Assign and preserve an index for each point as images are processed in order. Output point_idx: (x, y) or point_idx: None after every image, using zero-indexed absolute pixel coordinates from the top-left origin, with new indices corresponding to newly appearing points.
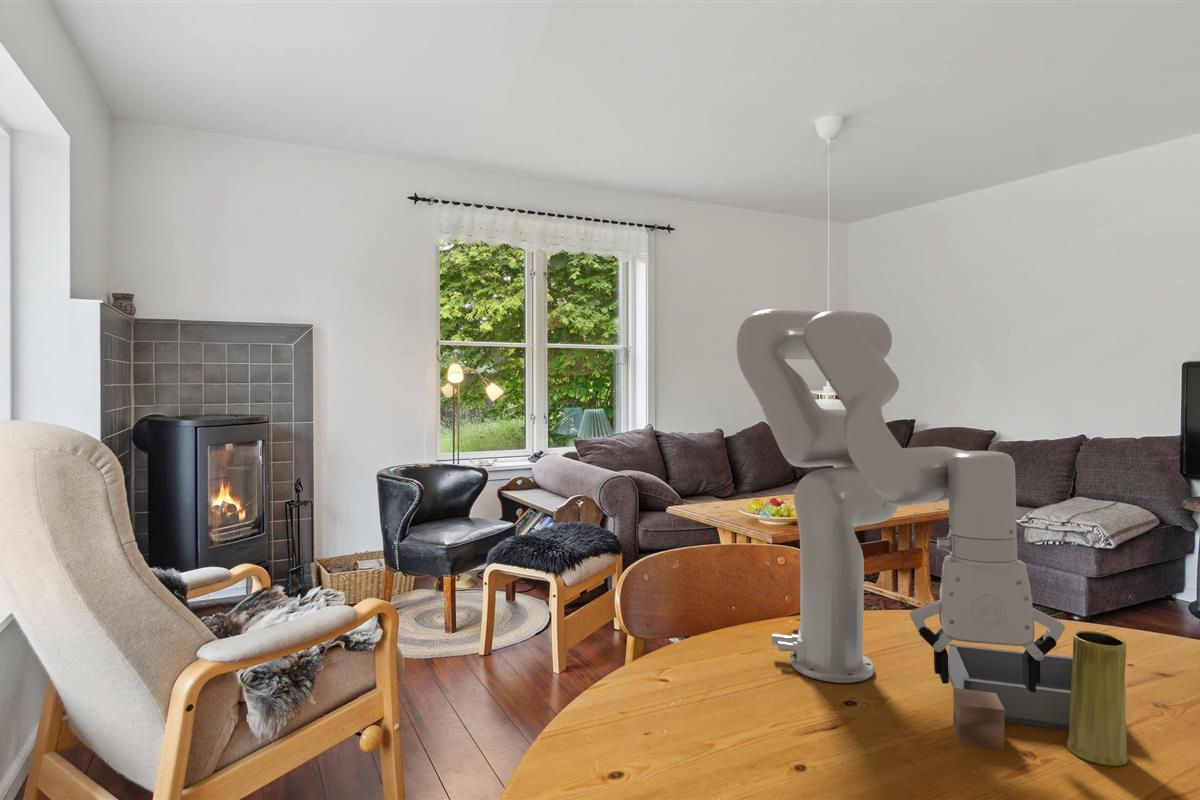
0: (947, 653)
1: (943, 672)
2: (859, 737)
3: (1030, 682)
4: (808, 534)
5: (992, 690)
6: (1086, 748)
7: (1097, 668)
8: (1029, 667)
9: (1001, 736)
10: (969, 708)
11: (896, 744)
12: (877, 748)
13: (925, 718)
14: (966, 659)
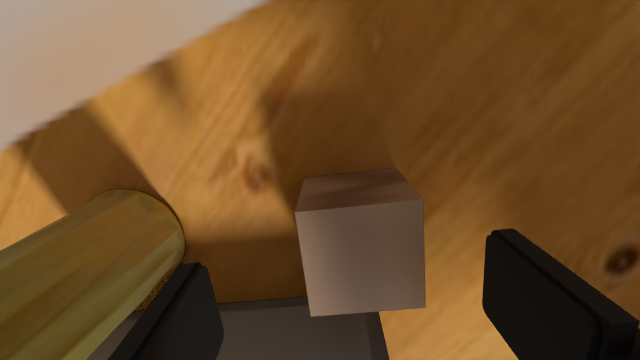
0: (592, 334)
1: (538, 250)
2: (634, 91)
3: (184, 285)
4: None
5: (316, 349)
6: (138, 209)
7: None
8: (152, 336)
9: (308, 186)
10: (392, 198)
11: (544, 95)
12: (597, 51)
13: (455, 252)
14: None
